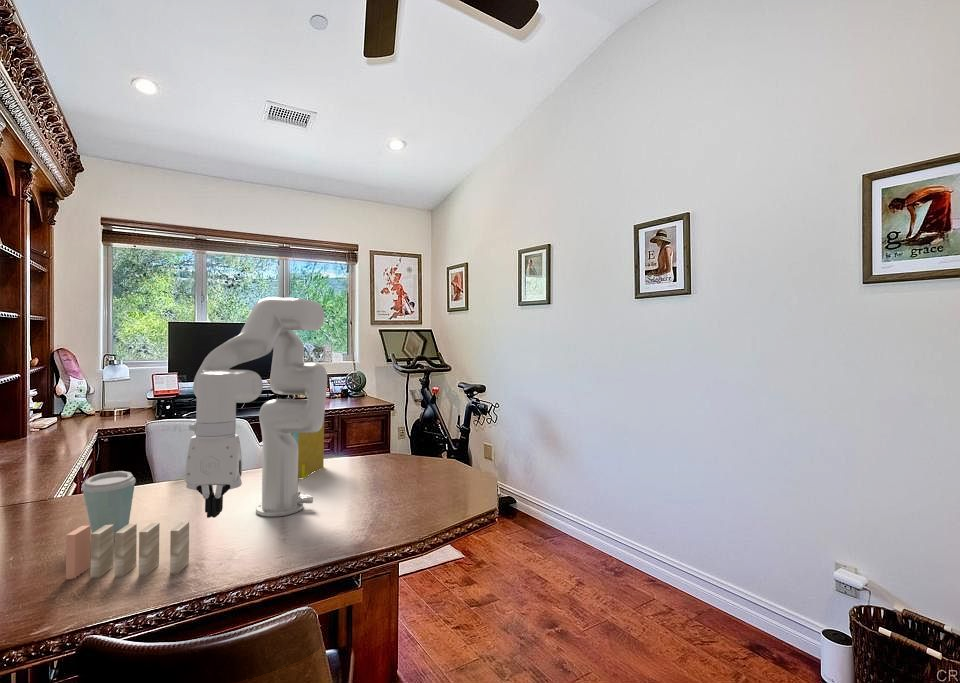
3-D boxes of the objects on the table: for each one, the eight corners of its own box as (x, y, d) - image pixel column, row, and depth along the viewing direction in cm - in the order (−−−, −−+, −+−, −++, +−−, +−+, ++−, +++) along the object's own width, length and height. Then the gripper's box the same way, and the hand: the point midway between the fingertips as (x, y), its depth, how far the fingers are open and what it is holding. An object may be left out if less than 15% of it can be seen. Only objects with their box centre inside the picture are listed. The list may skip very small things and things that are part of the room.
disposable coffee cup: (134, 540, 119) (135, 478, 119) (77, 550, 113) (78, 485, 113) (136, 526, 128) (137, 468, 128) (83, 534, 122) (84, 473, 122)
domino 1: (90, 567, 105) (90, 525, 105) (74, 578, 100) (75, 534, 100) (81, 568, 105) (82, 525, 105) (65, 579, 100) (66, 535, 100)
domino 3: (136, 565, 107) (136, 523, 107) (123, 576, 102) (123, 532, 102) (128, 565, 106) (128, 524, 106) (114, 576, 101) (115, 533, 101)
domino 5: (188, 562, 108) (189, 521, 108) (178, 573, 103) (178, 530, 103) (180, 563, 108) (181, 521, 108) (170, 573, 103) (170, 530, 103)
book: (302, 479, 173) (303, 407, 172) (285, 477, 174) (286, 406, 174) (327, 466, 189) (328, 401, 189) (311, 465, 191) (312, 400, 190)
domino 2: (113, 566, 106) (113, 524, 106) (99, 577, 101) (99, 533, 101) (105, 566, 106) (105, 524, 106) (90, 578, 101) (90, 534, 101)
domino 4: (159, 564, 107) (159, 522, 107) (147, 575, 102) (147, 531, 102) (151, 564, 107) (151, 523, 107) (138, 575, 102) (139, 532, 102)
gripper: (170, 432, 101) (167, 522, 101) (247, 432, 104) (245, 520, 103) (186, 427, 109) (183, 511, 108) (257, 426, 111) (255, 509, 111)
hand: (213, 515), depth 106 cm, fingers closed
